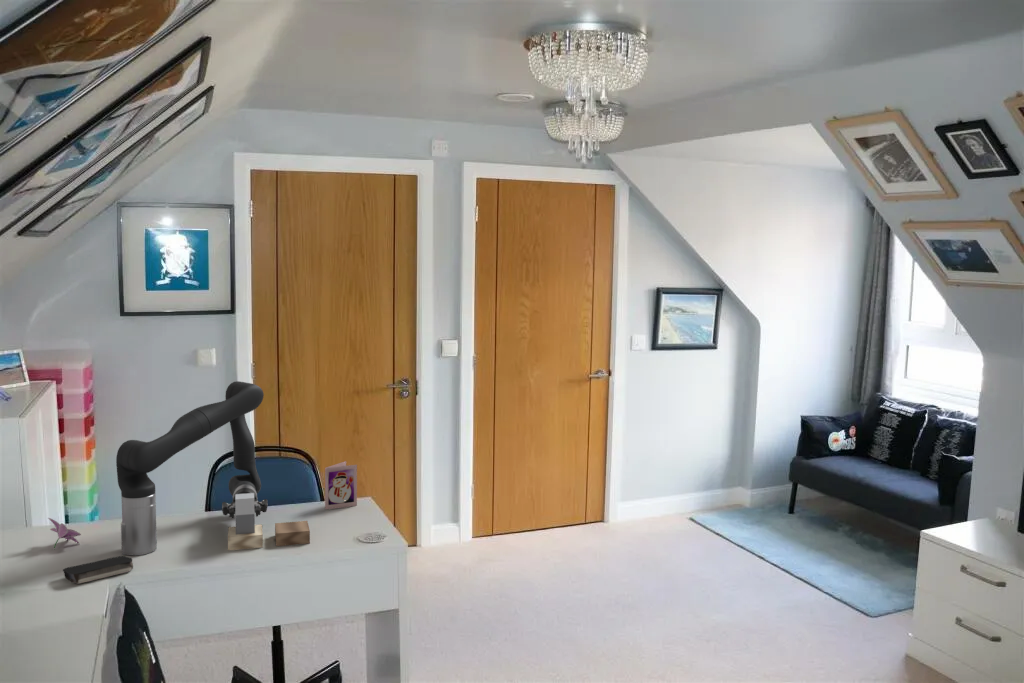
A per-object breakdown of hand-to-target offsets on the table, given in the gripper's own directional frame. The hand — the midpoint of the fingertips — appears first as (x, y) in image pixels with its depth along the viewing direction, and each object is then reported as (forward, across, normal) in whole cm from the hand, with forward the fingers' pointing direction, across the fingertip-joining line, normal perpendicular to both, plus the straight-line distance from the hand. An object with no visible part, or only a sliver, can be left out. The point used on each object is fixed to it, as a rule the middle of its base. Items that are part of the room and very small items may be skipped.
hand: (245, 514), depth 245 cm
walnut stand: (-2, +14, +10) cm, 17 cm away
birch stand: (-2, 0, +10) cm, 10 cm away
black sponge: (+13, -38, +11) cm, 42 cm away
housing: (-2, 0, +6) cm, 6 cm away
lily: (-14, -52, +10) cm, 55 cm away
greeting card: (-34, +32, +10) cm, 48 cm away
